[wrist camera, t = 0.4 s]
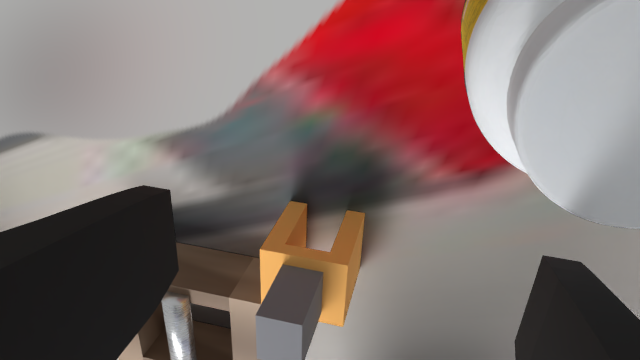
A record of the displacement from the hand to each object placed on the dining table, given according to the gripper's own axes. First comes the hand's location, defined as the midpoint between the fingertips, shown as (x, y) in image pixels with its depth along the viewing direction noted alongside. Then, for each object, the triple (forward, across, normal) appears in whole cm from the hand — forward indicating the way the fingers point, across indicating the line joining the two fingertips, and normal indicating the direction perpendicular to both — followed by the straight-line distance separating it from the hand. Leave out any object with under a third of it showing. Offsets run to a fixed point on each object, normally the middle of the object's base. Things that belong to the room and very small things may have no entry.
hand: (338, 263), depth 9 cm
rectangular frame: (+10, +8, +11) cm, 17 cm away
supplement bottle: (+10, -4, -4) cm, 12 cm away
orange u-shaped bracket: (+10, +2, +6) cm, 12 cm away
